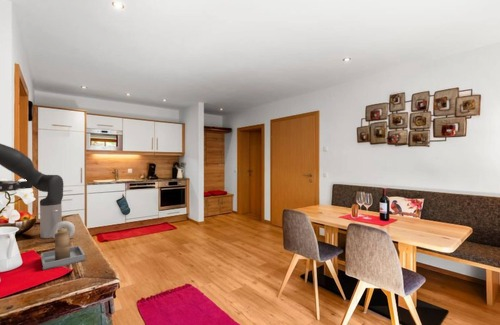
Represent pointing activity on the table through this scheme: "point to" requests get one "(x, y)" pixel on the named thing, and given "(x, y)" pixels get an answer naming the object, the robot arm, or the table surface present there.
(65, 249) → the pepper mill
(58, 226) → the donut
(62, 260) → the tray
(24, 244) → the table surface
